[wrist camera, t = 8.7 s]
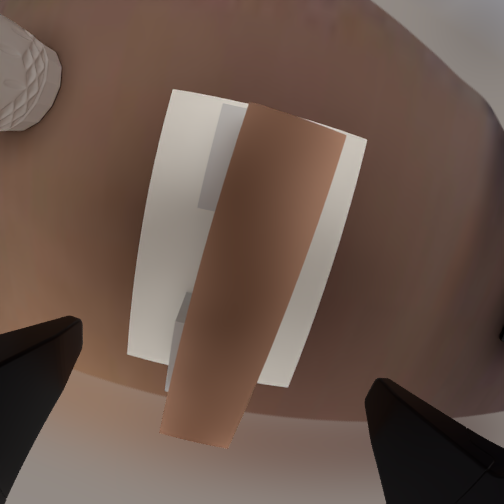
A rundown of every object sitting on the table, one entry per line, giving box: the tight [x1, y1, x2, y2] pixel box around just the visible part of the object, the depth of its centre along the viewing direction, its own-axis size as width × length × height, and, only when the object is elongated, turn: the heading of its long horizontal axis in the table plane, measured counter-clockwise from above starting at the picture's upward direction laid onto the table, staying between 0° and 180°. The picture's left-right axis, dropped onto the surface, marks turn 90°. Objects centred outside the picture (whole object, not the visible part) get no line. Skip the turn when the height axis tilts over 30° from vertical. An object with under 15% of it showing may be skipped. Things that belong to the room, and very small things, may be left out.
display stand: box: [127, 89, 367, 392], centre depth 18 cm, size 12×18×5 cm, turn 166°
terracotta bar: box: [159, 102, 347, 449], centre depth 14 cm, size 4×15×4 cm, turn 163°
